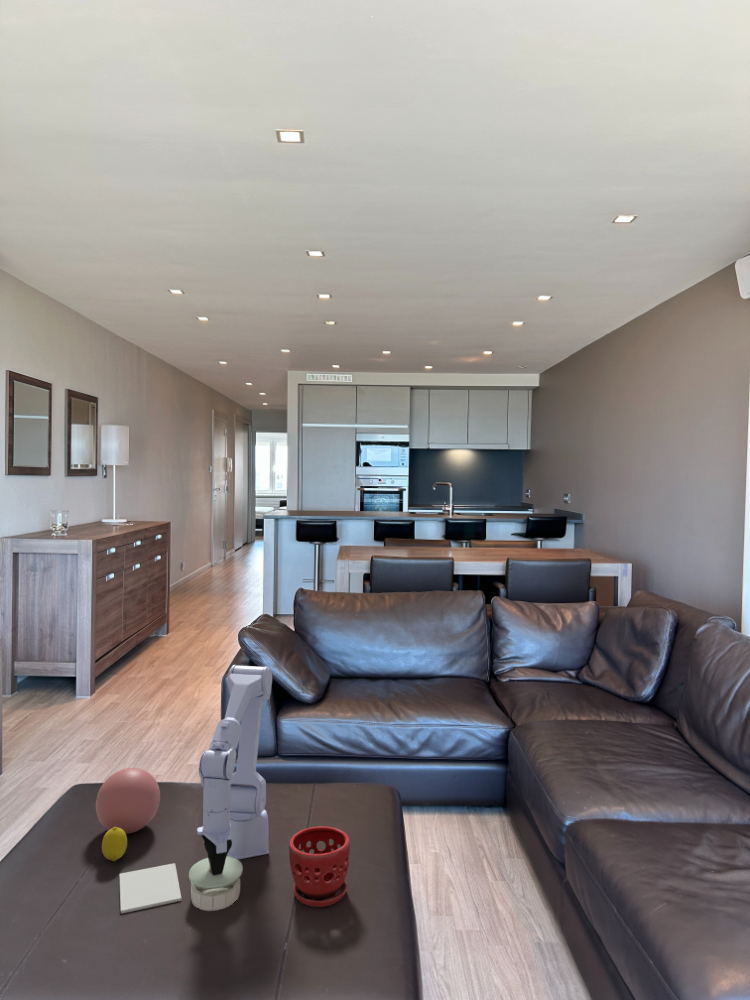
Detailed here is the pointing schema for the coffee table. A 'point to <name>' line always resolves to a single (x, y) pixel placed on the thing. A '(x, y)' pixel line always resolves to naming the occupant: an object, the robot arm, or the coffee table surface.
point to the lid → (204, 878)
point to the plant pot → (319, 866)
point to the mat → (149, 888)
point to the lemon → (114, 843)
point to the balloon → (128, 800)
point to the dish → (215, 896)
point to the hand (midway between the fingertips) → (216, 869)
